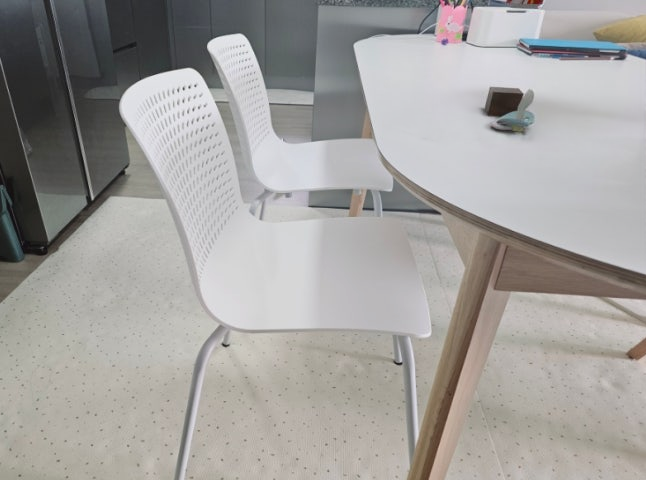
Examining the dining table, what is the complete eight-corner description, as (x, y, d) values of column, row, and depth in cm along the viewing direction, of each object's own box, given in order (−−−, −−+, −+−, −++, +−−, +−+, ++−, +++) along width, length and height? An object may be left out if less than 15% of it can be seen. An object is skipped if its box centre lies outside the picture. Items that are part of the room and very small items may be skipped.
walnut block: (512, 110, 87) (518, 88, 85) (517, 117, 83) (523, 93, 81) (484, 108, 88) (489, 86, 86) (487, 115, 84) (493, 91, 82)
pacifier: (484, 130, 76) (524, 136, 73) (493, 90, 73) (535, 93, 70) (496, 121, 81) (534, 126, 78) (505, 83, 78) (545, 86, 74)
